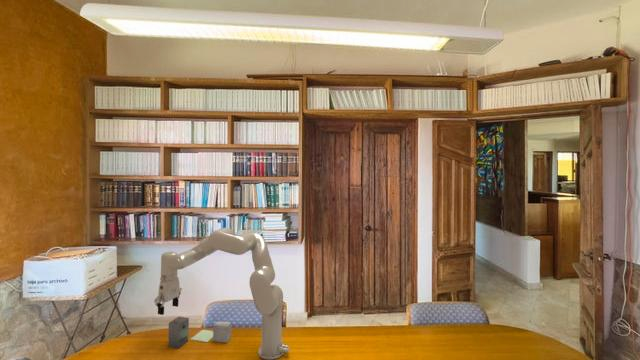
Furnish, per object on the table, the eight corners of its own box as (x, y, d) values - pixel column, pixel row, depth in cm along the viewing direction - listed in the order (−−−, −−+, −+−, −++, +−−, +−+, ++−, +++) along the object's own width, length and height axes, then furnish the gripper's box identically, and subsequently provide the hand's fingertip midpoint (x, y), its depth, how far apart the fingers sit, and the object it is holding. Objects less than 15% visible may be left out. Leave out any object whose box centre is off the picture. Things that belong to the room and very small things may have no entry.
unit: (188, 341, 148) (189, 318, 148) (179, 349, 141) (179, 324, 141) (178, 339, 149) (178, 316, 150) (167, 347, 143) (168, 322, 143)
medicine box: (231, 338, 151) (231, 321, 151) (227, 343, 147) (227, 326, 147) (216, 337, 152) (216, 321, 152) (212, 342, 147) (212, 325, 147)
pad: (218, 332, 157) (218, 332, 157) (207, 342, 147) (207, 341, 147) (202, 330, 159) (202, 329, 159) (190, 339, 149) (190, 339, 149)
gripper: (162, 283, 138) (161, 318, 138) (187, 272, 155) (186, 304, 155) (149, 281, 140) (148, 316, 140) (175, 270, 157) (174, 302, 156)
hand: (168, 310), depth 147 cm, fingers open, 9 cm apart
